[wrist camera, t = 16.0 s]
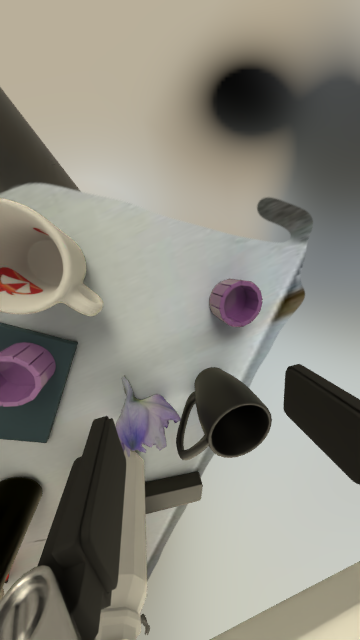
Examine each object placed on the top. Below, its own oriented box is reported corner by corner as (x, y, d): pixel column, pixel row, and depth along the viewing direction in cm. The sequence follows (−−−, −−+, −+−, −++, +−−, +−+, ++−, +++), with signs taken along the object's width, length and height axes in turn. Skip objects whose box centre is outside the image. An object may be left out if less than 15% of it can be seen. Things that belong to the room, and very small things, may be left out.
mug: (157, 386, 27) (165, 443, 18) (224, 351, 28) (263, 389, 19) (178, 420, 30) (194, 484, 21) (238, 387, 31) (278, 436, 22)
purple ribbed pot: (35, 333, 21) (15, 346, 17) (66, 372, 23) (53, 390, 19) (-15, 356, 20) (-46, 373, 17) (20, 393, 22) (-1, 415, 19)
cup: (128, 279, 22) (123, 285, 14) (87, 325, 22) (62, 354, 15) (45, 206, 18) (-21, 163, 11) (-2, 264, 19) (-96, 261, 11)
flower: (70, 420, 18) (135, 495, 17) (134, 362, 22) (191, 422, 21) (91, 409, 27) (136, 460, 26) (135, 368, 30) (175, 411, 29)
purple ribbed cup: (203, 289, 24) (213, 292, 21) (240, 272, 25) (256, 273, 22) (216, 325, 27) (227, 334, 23) (250, 309, 27) (266, 315, 24)
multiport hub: (202, 484, 33) (198, 470, 35) (142, 497, 30) (142, 482, 32) (200, 500, 34) (197, 486, 36) (143, 514, 31) (142, 498, 34)
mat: (-6, 320, 20) (-12, 322, 19) (78, 342, 23) (76, 344, 22) (-29, 430, 23) (-34, 436, 22) (48, 438, 26) (46, 443, 25)
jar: (136, 434, 29) (130, 669, 12) (151, 472, 32) (163, 701, 15) (74, 456, 27) (-32, 758, 10) (96, 493, 30) (42, 773, 14)
